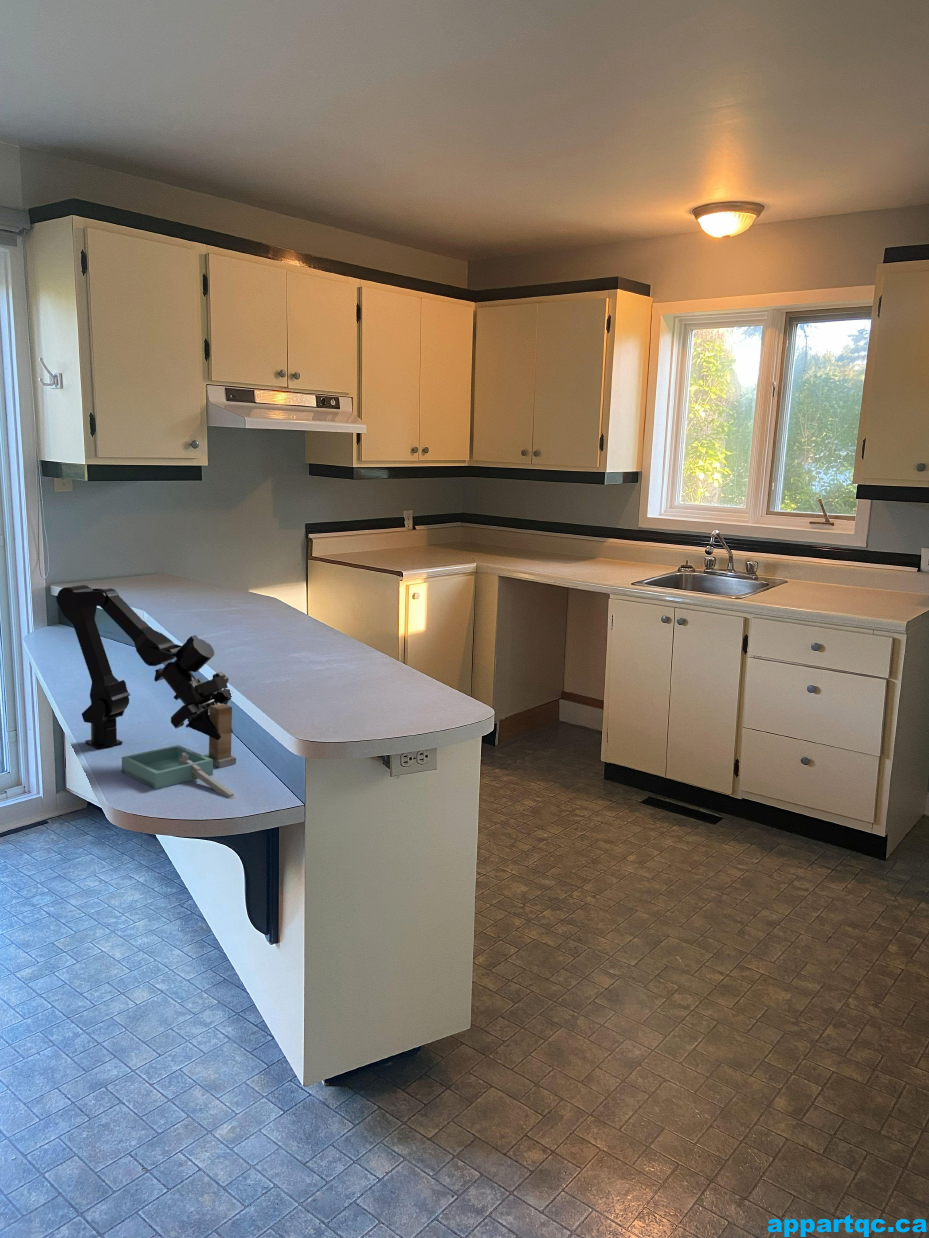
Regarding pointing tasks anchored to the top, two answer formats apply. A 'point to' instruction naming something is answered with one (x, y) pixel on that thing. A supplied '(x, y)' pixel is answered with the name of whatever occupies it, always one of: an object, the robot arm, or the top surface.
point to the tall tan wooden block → (221, 747)
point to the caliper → (205, 777)
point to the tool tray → (164, 766)
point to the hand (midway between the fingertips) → (225, 735)
